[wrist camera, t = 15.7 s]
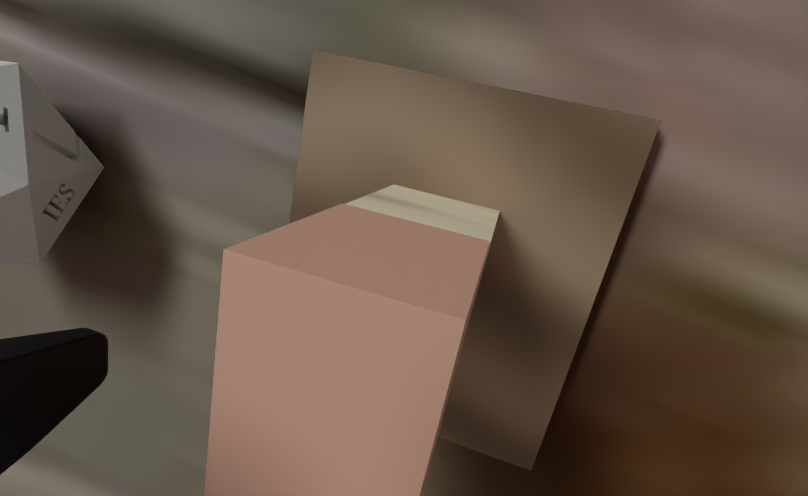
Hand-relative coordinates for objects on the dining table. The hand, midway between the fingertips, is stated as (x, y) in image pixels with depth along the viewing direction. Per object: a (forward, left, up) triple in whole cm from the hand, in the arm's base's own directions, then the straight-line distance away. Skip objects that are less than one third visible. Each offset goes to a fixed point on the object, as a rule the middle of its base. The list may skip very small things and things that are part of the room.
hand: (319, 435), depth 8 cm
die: (0, +19, -11) cm, 22 cm away
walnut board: (0, 0, -11) cm, 11 cm away
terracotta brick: (0, 0, -5) cm, 5 cm away
